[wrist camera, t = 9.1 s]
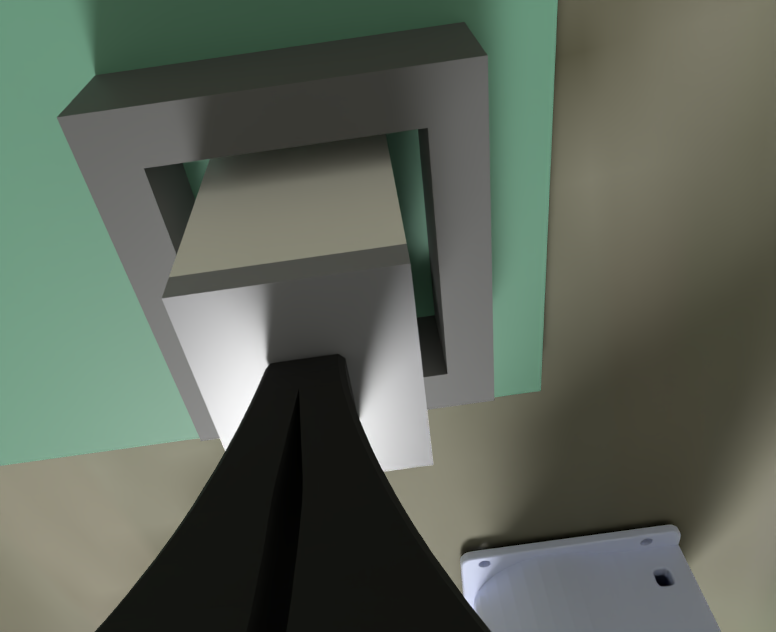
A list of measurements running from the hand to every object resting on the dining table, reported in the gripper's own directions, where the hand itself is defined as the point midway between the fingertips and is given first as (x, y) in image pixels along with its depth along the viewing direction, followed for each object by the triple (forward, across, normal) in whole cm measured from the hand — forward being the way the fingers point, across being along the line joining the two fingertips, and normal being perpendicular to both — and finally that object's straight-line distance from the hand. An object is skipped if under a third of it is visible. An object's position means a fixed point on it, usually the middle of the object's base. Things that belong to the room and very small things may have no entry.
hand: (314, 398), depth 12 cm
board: (+7, +5, 0) cm, 9 cm away
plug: (+6, 0, 0) cm, 6 cm away
